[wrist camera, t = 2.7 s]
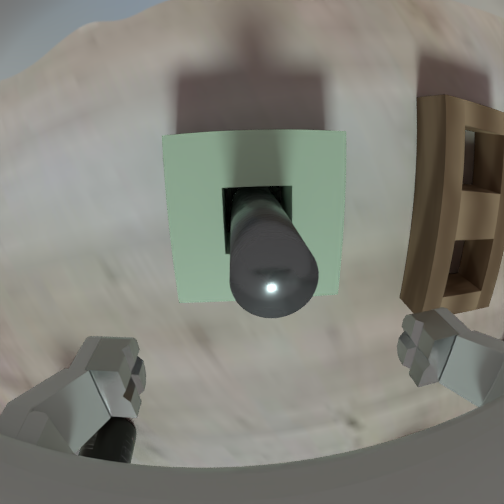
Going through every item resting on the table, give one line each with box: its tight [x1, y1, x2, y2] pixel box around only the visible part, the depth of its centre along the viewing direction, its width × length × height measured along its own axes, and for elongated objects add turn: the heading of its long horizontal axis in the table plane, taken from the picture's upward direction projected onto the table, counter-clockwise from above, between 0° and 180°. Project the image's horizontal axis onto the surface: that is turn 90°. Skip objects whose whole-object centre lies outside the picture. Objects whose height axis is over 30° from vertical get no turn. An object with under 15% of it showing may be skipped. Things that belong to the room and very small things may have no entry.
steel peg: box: [229, 186, 319, 318], centre depth 19 cm, size 4×4×14 cm
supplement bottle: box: [79, 416, 136, 464], centre depth 29 cm, size 7×7×12 cm
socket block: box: [162, 129, 346, 303], centre depth 23 cm, size 12×12×5 cm
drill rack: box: [400, 94, 504, 314], centre depth 24 cm, size 10×20×4 cm, turn 1°
